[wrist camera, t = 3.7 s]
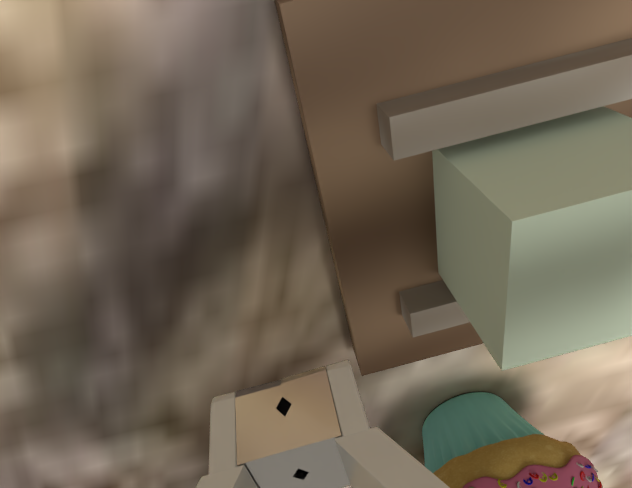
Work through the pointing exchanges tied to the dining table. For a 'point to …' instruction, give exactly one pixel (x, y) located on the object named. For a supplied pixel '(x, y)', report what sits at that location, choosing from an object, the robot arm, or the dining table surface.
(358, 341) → the guide board
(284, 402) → the robot arm
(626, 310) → the block
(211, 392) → the dining table surface
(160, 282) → the dining table surface
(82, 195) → the dining table surface
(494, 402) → the cupcake
